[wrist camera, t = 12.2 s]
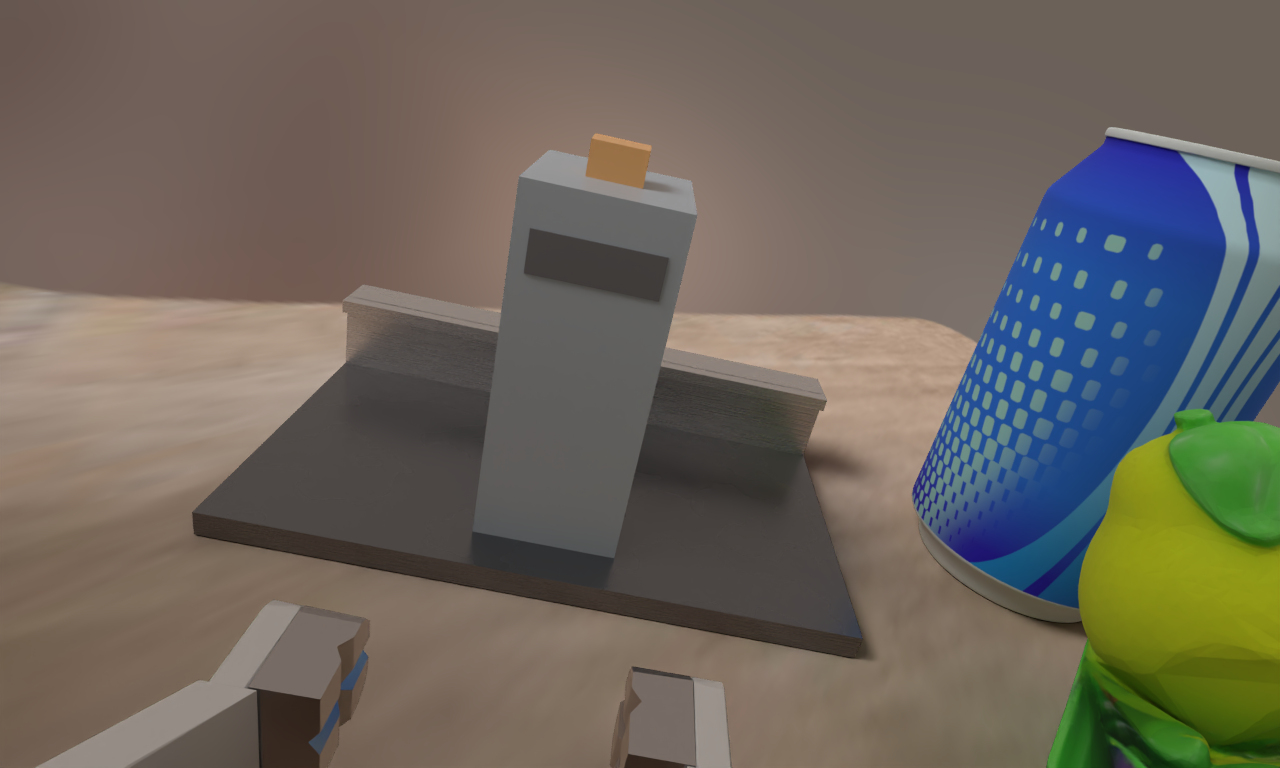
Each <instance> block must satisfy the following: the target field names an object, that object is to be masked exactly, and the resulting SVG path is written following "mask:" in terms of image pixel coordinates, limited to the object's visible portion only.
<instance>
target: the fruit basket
mask: <svg viewBox="0 0 1280 768" xmlns="http://www.w3.org/2000/svg"><path fill="white" fill-rule="evenodd" d="M1174 419H1175V423H1176V425H1177V429H1176V430H1175V431H1173V432H1172V433H1170V434H1167V435H1164V436H1161V437H1158V438H1156V439H1154V440H1151V441H1149V442H1148V443H1146V444H1144V445H1142V446H1140V447H1137V448H1135V449H1133V450H1132V451H1130V452H1129V453H1128V454H1127V455H1126V456H1125V457H1124V458H1123V459H1122V461H1121V462H1120V463H1119V465H1118V467H1117V469H1116V471H1115V474H1114V477H1113V482H1112V486H1111V491H1110V498H1109V505H1108V509H1107V512H1106V514H1105V517H1104V519H1103V521H1102V523H1101V524H1100V526H1099V528H1098V530H1097V531H1096V533H1095V535H1094V537H1093V538H1092V540H1091V542H1090V545H1089V547H1088V549H1087V552H1086V554H1085V557H1084V560H1083V563H1082V568H1081V573H1080V578H1079V585H1078V599H1079V610H1080V615H1081V619H1082V623H1083V627H1084V630H1085V632H1086V635H1087V637H1088V639H1087V642H1086V645H1085V649H1084V652H1083V655H1082V658H1081V661H1080V665H1079V668H1078V671H1077V674H1076V677H1075V680H1074V683H1073V686H1072V689H1071V692H1070V695H1069V699H1068V702H1067V705H1066V708H1065V711H1064V714H1063V717H1062V719H1061V722H1060V725H1059V728H1058V731H1057V734H1056V737H1055V740H1054V743H1053V746H1052V749H1051V751H1050V754H1049V757H1048V761H1047V766H1046V768H1280V428H1278V427H1275V426H1272V425H1269V424H1266V423H1260V422H1253V421H1228V422H1221V423H1219V422H1216V421H1215V419H1214V416H1213V414H1212V413H1211V412H1210V411H1209V410H1205V409H1190V410H1184V411H1179V412H1176V413H1175V414H1174Z"/></svg>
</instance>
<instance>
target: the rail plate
mask: <svg viewBox="0 0 1280 768" xmlns="http://www.w3.org/2000/svg"><path fill="white" fill-rule="evenodd" d="M343 312H345V313H347V343H346V363H345V364H344V365H343V366H342V367H341V368H340V369H339V370H338V371H337V372H336V373H335V374H334V375H333V376H332V377H331V378H330V379H329V380H328V381H327V382H326V383H325V384H324V385H322V386H321V387H320V388H319V389H318V390H317V391H316V392H315V393H314V394H313V395H312V396H311V397H310V398H309V399H308V400H307V401H306V402H305V403H304V404H303V405H302V406H301V407H300V408H299V409H298V410H297V411H296V412H295V413H294V414H293V415H292V416H291V417H290V418H289V419H288V420H287V421H285V422H284V423H283V424H282V425H281V426H280V427H279V428H278V429H277V430H276V431H275V432H274V433H273V434H272V435H271V436H270V437H269V438H268V439H267V440H266V441H265V442H264V443H263V444H262V445H261V446H260V447H259V448H258V449H257V450H256V451H255V452H254V453H253V454H252V455H251V456H250V457H248V458H247V459H246V460H245V461H244V462H243V463H242V464H241V465H240V466H239V467H238V468H237V469H236V470H235V471H234V472H233V473H232V474H231V475H230V476H229V477H228V478H227V479H226V480H225V481H224V482H223V483H222V484H221V485H220V486H219V487H218V488H217V489H216V490H215V491H214V492H212V493H211V494H210V495H209V496H208V497H207V498H206V499H205V500H204V501H203V502H202V503H201V504H200V505H199V506H198V507H197V508H196V509H195V510H194V511H193V512H192V515H193V527H194V534H196V535H201V536H206V537H212V538H217V539H222V540H228V541H233V542H238V543H244V544H249V545H254V546H260V547H265V548H270V549H276V550H281V551H286V552H292V553H297V554H302V555H308V556H313V557H318V558H324V559H329V560H334V561H340V562H345V563H350V564H356V565H361V566H366V567H372V568H377V569H382V570H388V571H393V572H398V573H404V574H409V575H414V576H420V577H425V578H430V579H436V580H441V581H446V582H452V583H457V584H462V585H468V586H473V587H478V588H484V589H489V590H494V591H500V592H505V593H510V594H516V595H521V596H526V597H532V598H537V599H542V600H548V601H553V602H558V603H564V604H569V605H574V606H580V607H585V608H590V609H596V610H601V611H606V612H612V613H617V614H622V615H628V616H633V617H638V618H644V619H649V620H654V621H660V622H665V623H670V624H676V625H681V626H686V627H692V628H697V629H702V630H708V631H713V632H718V633H724V634H729V635H734V636H740V637H745V638H750V639H756V640H761V641H766V642H772V643H777V644H782V645H788V646H793V647H798V648H804V649H809V650H814V651H820V652H825V653H830V654H836V655H841V656H846V657H852V658H854V657H855V655H856V653H857V650H858V648H859V646H860V644H861V642H862V640H863V638H862V635H861V632H860V629H859V625H858V622H857V619H856V616H855V613H854V610H853V607H852V604H851V601H850V598H849V595H848V592H847V589H846V586H845V582H844V579H843V576H842V573H841V570H840V567H839V564H838V561H837V558H836V555H835V552H834V549H833V546H832V542H831V539H830V536H829V533H828V530H827V527H826V524H825V521H824V518H823V515H822V512H821V509H820V506H819V502H818V499H817V496H816V493H815V490H814V487H813V484H812V481H811V478H810V475H809V472H808V469H807V466H806V462H805V459H804V456H803V454H804V452H805V449H806V446H807V443H808V440H809V438H810V435H811V432H812V429H813V427H814V424H815V421H816V418H817V415H818V413H819V410H820V411H824V408H825V405H826V402H827V399H826V397H825V395H824V392H823V390H822V388H821V386H820V383H819V381H818V379H814V378H809V377H804V376H800V375H795V374H790V373H785V372H781V371H776V370H771V369H766V368H761V367H757V366H752V365H747V364H742V363H737V362H733V361H728V360H723V359H718V358H713V357H709V356H704V355H699V354H694V353H689V352H685V351H680V350H675V349H670V348H665V351H664V355H663V359H662V363H661V367H660V371H659V375H658V379H657V384H656V388H655V392H654V396H653V400H652V404H651V408H650V412H649V417H648V421H647V425H646V429H645V433H644V437H643V441H642V445H641V450H640V454H639V458H638V462H637V466H636V470H635V474H634V478H633V482H632V487H631V491H630V495H629V499H628V503H627V507H626V511H625V515H624V520H623V524H622V528H621V532H620V536H619V540H618V544H617V548H616V553H615V557H614V558H609V557H604V556H599V555H594V554H588V553H583V552H578V551H573V550H567V549H562V548H557V547H552V546H546V545H541V544H536V543H531V542H525V541H520V540H515V539H510V538H504V537H499V536H494V535H489V534H483V533H478V532H473V523H474V516H475V508H476V500H477V493H478V485H479V478H480V470H481V462H482V455H483V447H484V439H485V432H486V424H487V417H488V409H489V401H490V394H491V386H492V378H493V371H494V363H495V356H496V348H497V340H498V333H499V325H500V317H501V313H498V312H493V311H488V310H483V309H478V308H474V307H469V306H464V305H459V304H454V303H450V302H445V301H440V300H435V299H430V298H426V297H421V296H416V295H411V294H406V293H401V292H396V291H392V290H387V289H382V288H378V287H372V286H367V285H362V286H361V287H360V288H358V289H357V290H356V291H354V292H353V293H352V294H351V295H349V296H348V297H347V298H346V299H344V300H343Z"/></svg>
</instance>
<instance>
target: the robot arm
mask: <svg viewBox="0 0 1280 768" xmlns="http://www.w3.org/2000/svg"><path fill="white" fill-rule="evenodd" d="M369 637H370V621H369V620H368V619H366V618H361V617H357V616H352V615H347V614H342V613H338V612H333V611H328V610H323V609H319V608H314V607H309V606H302V605H297V604H292V603H287V602H283V601H278V600H272V601H271V602H269V603H268V604H267V605H265V606H264V607H263V608H262V610H261V611H260V612H259V614H258V615H257V616H256V618H255V619H254V620H253V622H252V623H251V624H250V626H249V627H248V629H247V630H246V631H245V633H244V634H243V635H242V637H241V638H240V639H239V641H238V642H237V644H236V645H235V646H234V648H233V649H232V650H231V652H230V653H229V654H228V656H227V657H226V659H225V660H224V661H223V663H222V664H221V665H220V667H219V668H218V669H217V671H216V672H215V673H214V675H213V676H212V678H211V679H210V680H209V681H202V680H198V681H196V682H194V683H192V684H190V685H188V686H186V687H185V688H183V689H181V690H179V691H177V692H175V693H173V694H171V695H170V696H168V697H166V698H164V699H162V700H160V701H158V702H157V703H155V704H153V705H151V706H149V707H147V708H145V709H143V710H142V711H140V712H138V713H136V714H134V715H132V716H130V717H128V718H127V719H125V720H123V721H121V722H119V723H117V724H115V725H114V726H112V727H110V728H108V729H106V730H104V731H102V732H100V733H99V734H97V735H95V736H93V737H91V738H89V739H87V740H86V741H84V742H82V743H80V744H78V745H76V746H74V747H72V748H71V749H69V750H67V751H65V752H63V753H61V754H59V755H57V756H56V757H54V758H52V759H50V760H48V761H46V762H44V763H43V764H41V765H39V766H37V767H35V768H327V767H328V765H329V763H330V761H331V759H332V757H333V755H334V753H335V751H336V749H337V747H338V744H339V727H340V726H341V725H343V724H344V723H346V722H347V721H349V720H350V719H351V717H352V715H353V713H354V711H355V709H356V707H357V704H358V702H359V699H360V696H361V693H362V690H363V687H364V684H365V680H366V674H367V669H368V656H367V654H366V653H365V652H364V650H363V649H364V647H365V645H366V643H367V641H368V639H369ZM610 766H611V767H612V768H732V764H731V753H730V742H729V731H728V720H727V708H726V697H725V688H724V686H723V684H722V682H718V681H712V680H706V679H701V678H695V677H692V678H691V677H690V676H685V675H679V674H673V673H667V672H661V671H656V670H650V669H644V668H638V667H631V669H630V671H629V674H628V677H627V681H626V687H625V700H623V701H622V702H621V703H620V706H619V710H618V714H617V719H616V724H615V729H614V734H613V741H612V749H611V760H610Z"/></svg>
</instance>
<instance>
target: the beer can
mask: <svg viewBox="0 0 1280 768" xmlns="http://www.w3.org/2000/svg"><path fill="white" fill-rule="evenodd" d="M1105 136H1107V137H1106V140H1105V142H1104V144H1103V145H1102V146H1101V147H1100V148H1098V149H1097V150H1096V151H1094V152H1093V153H1092V154H1091V155H1089V156H1088V157H1087V158H1086V159H1084V160H1083V161H1082V162H1080V163H1079V164H1078V165H1077V166H1075V167H1074V168H1073V169H1072V170H1070V171H1069V172H1068V173H1066V174H1065V175H1064V176H1063V177H1061V178H1060V179H1059V180H1058V181H1056V182H1055V183H1054V184H1052V186H1051V187H1050V188H1049V189H1048V190H1047V192H1046V194H1045V195H1044V197H1043V199H1042V201H1041V204H1040V206H1039V208H1038V210H1037V213H1036V215H1035V217H1034V219H1033V221H1032V224H1031V226H1030V228H1029V230H1028V233H1027V235H1026V237H1025V239H1024V242H1023V244H1022V246H1021V248H1020V250H1019V253H1018V255H1017V257H1016V259H1015V262H1014V264H1013V266H1012V268H1011V270H1010V273H1009V275H1008V277H1007V280H1006V282H1005V284H1004V286H1003V288H1002V291H1001V293H1000V295H999V297H998V300H997V302H996V304H995V306H994V309H993V311H992V313H991V315H990V317H989V320H988V322H987V324H986V326H985V328H984V331H983V333H982V335H981V338H980V340H979V342H978V344H977V346H976V349H975V351H974V353H973V355H972V357H971V360H970V362H969V364H968V366H967V369H966V371H965V373H964V375H963V378H962V380H961V382H960V384H959V386H958V389H957V391H956V393H955V395H954V398H953V400H952V402H951V404H950V407H949V409H948V411H947V413H946V415H945V418H944V420H943V422H942V424H941V427H940V429H939V431H938V433H937V436H936V438H935V440H934V442H933V445H932V447H931V449H930V451H929V453H928V456H927V458H926V460H925V462H924V465H923V467H922V469H921V471H920V474H919V476H918V478H917V480H916V482H915V485H914V487H913V492H912V501H913V505H914V508H915V511H916V513H917V515H918V517H919V531H920V535H921V537H922V540H923V542H924V544H925V546H926V547H927V549H928V550H929V552H930V553H931V554H932V556H933V557H934V558H935V559H936V560H937V561H938V563H939V564H940V565H941V566H942V567H944V568H945V569H946V570H947V571H948V572H949V573H950V574H951V575H952V576H954V577H955V578H956V579H958V580H959V581H960V582H962V583H963V584H964V585H966V586H967V587H969V588H970V589H972V590H973V591H975V592H976V593H978V594H980V595H982V596H983V597H985V598H987V599H989V600H991V601H993V602H995V603H996V604H999V605H1001V606H1003V607H1005V608H1007V609H1010V610H1012V611H1015V612H1017V613H1020V614H1023V615H1026V616H1029V617H1033V618H1036V619H1041V620H1045V621H1051V622H1059V623H1073V622H1079V621H1082V619H1081V615H1080V610H1079V599H1078V585H1079V578H1080V573H1081V568H1082V563H1083V560H1084V557H1085V554H1086V552H1087V549H1088V547H1089V545H1090V542H1091V540H1092V538H1093V537H1094V535H1095V533H1096V531H1097V530H1098V528H1099V526H1100V524H1101V523H1102V521H1103V519H1104V517H1105V514H1106V512H1107V509H1108V505H1109V498H1110V491H1111V486H1112V482H1113V477H1114V474H1115V471H1116V469H1117V467H1118V465H1119V463H1120V462H1121V461H1122V459H1123V458H1124V457H1125V456H1126V455H1127V454H1128V453H1129V452H1130V451H1132V450H1133V449H1135V448H1137V447H1140V446H1142V445H1144V444H1146V443H1148V442H1149V441H1151V440H1154V439H1156V438H1158V437H1161V436H1164V435H1167V434H1170V433H1172V432H1173V431H1175V430H1176V429H1177V425H1176V423H1175V419H1174V414H1175V413H1176V412H1179V411H1184V410H1190V409H1205V410H1209V411H1210V412H1211V413H1212V414H1213V416H1214V419H1215V421H1216V422H1219V423H1221V422H1228V421H1254V419H1255V418H1256V416H1257V415H1258V413H1259V412H1260V410H1261V409H1262V407H1263V406H1264V404H1265V403H1266V401H1267V400H1268V398H1269V397H1270V395H1271V394H1272V392H1273V391H1274V389H1275V388H1276V386H1277V385H1278V383H1279V382H1280V162H1279V161H1275V160H1270V159H1265V158H1261V157H1256V156H1252V155H1248V154H1243V153H1238V152H1234V151H1229V150H1225V149H1220V148H1215V147H1210V146H1206V145H1201V144H1196V143H1191V142H1187V141H1182V140H1177V139H1172V138H1167V137H1162V136H1157V135H1152V134H1147V133H1142V132H1137V131H1132V130H1126V129H1120V128H1114V127H1112V128H1111V127H1110V128H1108V129H1107V131H1106V133H1105Z"/></svg>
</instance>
